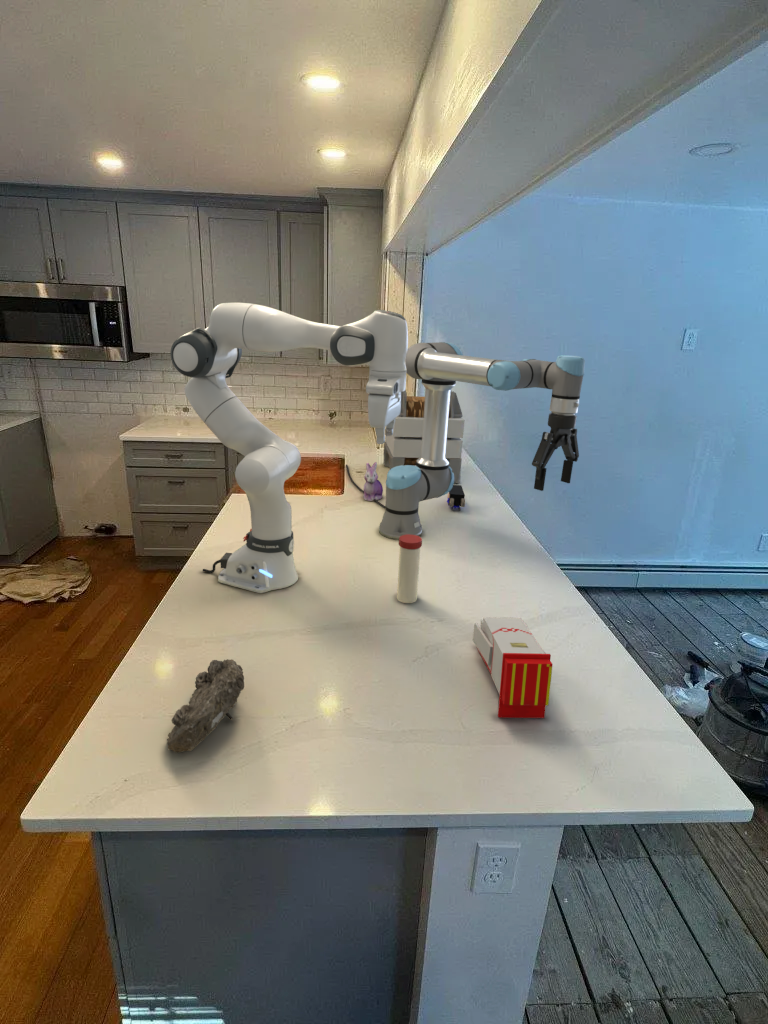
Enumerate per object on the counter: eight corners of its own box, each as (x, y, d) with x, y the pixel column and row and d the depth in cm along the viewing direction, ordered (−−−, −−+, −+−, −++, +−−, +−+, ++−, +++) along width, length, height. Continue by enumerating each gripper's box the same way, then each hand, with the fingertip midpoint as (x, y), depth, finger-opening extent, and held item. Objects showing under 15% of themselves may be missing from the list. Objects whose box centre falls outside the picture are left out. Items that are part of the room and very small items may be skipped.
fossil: (192, 660, 117) (244, 628, 112) (224, 691, 120) (276, 661, 115) (142, 746, 98) (202, 712, 93) (182, 779, 101) (242, 748, 96)
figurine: (367, 502, 230) (368, 467, 225) (357, 495, 238) (358, 460, 233) (388, 500, 234) (389, 465, 229) (377, 492, 242) (378, 458, 237)
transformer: (382, 463, 289) (386, 382, 275) (445, 464, 293) (451, 384, 279) (390, 482, 257) (394, 392, 243) (460, 483, 261) (468, 394, 247)
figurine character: (465, 515, 224) (460, 499, 237) (467, 498, 221) (462, 483, 234) (448, 515, 224) (444, 499, 237) (450, 498, 220) (445, 482, 234)
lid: (421, 541, 153) (422, 535, 152) (421, 550, 147) (422, 544, 147) (399, 539, 153) (399, 533, 153) (398, 548, 148) (398, 542, 147)
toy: (519, 602, 136) (561, 660, 107) (515, 654, 139) (554, 724, 109) (469, 601, 136) (497, 659, 106) (465, 653, 138) (492, 723, 109)
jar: (416, 594, 158) (420, 536, 152) (416, 603, 153) (420, 545, 147) (397, 592, 158) (400, 535, 153) (396, 602, 153) (399, 543, 147)
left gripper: (384, 377, 145) (381, 430, 150) (364, 386, 127) (362, 447, 131) (408, 378, 144) (405, 432, 149) (391, 388, 125) (388, 449, 130)
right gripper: (548, 419, 148) (537, 496, 155) (598, 411, 163) (586, 482, 171) (525, 414, 153) (515, 489, 160) (575, 407, 169) (564, 476, 176)
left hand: (384, 439), depth 140 cm, fingers open, 8 cm apart
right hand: (552, 485), depth 166 cm, fingers open, 13 cm apart
